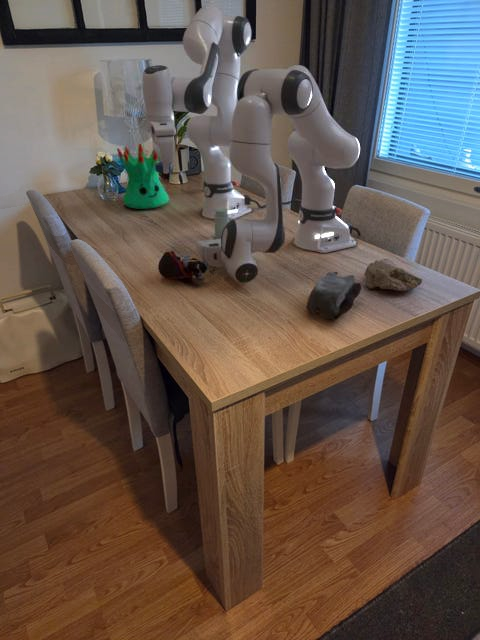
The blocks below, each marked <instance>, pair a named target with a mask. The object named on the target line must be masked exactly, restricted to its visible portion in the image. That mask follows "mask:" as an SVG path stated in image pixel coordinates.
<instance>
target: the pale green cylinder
mask: <svg viewBox="0 0 480 640" xmlns="http://www.w3.org/2000/svg"><path fill="white" fill-rule="evenodd" d="M215 211H216V214H215V215H214V219H213V221H214V237H216V239H221V236H222V231H223V229H224V227H225V226H226V225H227V223H228V222H229V221H230V220H229V214H228V209H226V208H217V209H216V210H215Z"/></svg>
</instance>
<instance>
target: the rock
mask: <svg viewBox="0 0 480 640" xmlns="http://www.w3.org/2000/svg"><path fill="white" fill-rule="evenodd" d="M361 290H362V284H361V283H360V282H356V278H355V276H354V275H353V274H349V275H345V276H339V272H338V271H327V272H326V274H324V275H323V276H322V277H321V278H320V279H319V280H318V281H317V283H315V285H314V287H313V288H312V289H311V291H310V294H309V296H308V299H307V302H306V305H305V306H306V307H305V308H306V310H307V311H308V312H309V313H312V314H315V313H317V312H318V313H319V315H320V316H322V317H323V318H325V319H327V320H329V319H332V320H334V321H336V320H338V319H339V318H340V317H341V316H343V315H345V314H346V313H348V311H350V310H351V309H352V308H353V305H354V303H355V299H356V298H358V296H359V295H360V293H361Z"/></svg>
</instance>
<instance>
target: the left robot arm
mask: <svg viewBox="0 0 480 640" xmlns="http://www.w3.org/2000/svg"><path fill="white" fill-rule="evenodd" d="M251 25H252V24H251V23H250V21H249V19H248V18H247V17H245V16H241V15H229V14H223V13H222V12H221V10H220V9H219V8H218V7H217V6H215V5H212V4H206V5H203V6H202V7H201V8H199V10H198V11H197V12H196V13H195V14H194V16H193V17H192V19H191V20H190V21H189V24H188V25H187V27H186V29H185V31H184V34H183V37H182V45H183V49H184V52H185V54H186V55H187V57H188V58H189V59H190V60H191V61H192V62H194V63H195V64H197V65H200V66H201V67H200V70H199V74H198V75H196V76H194V77H179V76H178V77H177V76H174V75H172V74H171V73H170V70H169V67H167V66H166V65H159V64H158V65H157V64H156V65H151V66H148V67H145V69H143V72H142V96H143V102H144V105H145V112H144V116H145V128H146V132H147V133H149V134H151V135H150V137H151V140H152V151H153V150H154V151H155V153H156V154H157V155H158V160H159V163H160V162H162V163H163V172H164V173H163V174H165V175H166V174H170V172H169V162H170V163H173V162H174V161H175V136H176V134H177V131H176V126H175V125H176V124H175V113H174V112H183V113H191V114H197V115H196V116H192V117H190V119H189V120H188V121H187V124H186V135H187V138H188V139H189V141H190V142H191V143H193V144H194V146H195V147H196V149H197V150H198V152H199V154H200V157H201V161H202V165H203V166H202V167H203V177H204V180H203V193H204V194H203V195H204V199H203V206H202V207H203V208H202V211H201V216H202V217H204V218H205V219H210V220H214V215H215V214H216V211H215V210H216V209H217V208H226V209H228V214H229V221H230V220H232V219H237V218H240V217H242V216H244V215H246V214H249V213H250V212H252V208H251V207H250V206H249V205H251V202H253V203H255V204H256V205H257V207H258V208H260V209H265V208H266V204H264V205H260V203H259V202H258V201H257V200H255V199H253V198H251V197H250V196H249V195H247V194H244V195H243V194H242V193H240V191H238V190H236V189H235V187H238V186H239V183H240V182H239V181H237V180H232V166H231V165H232V163H231V161H230V158H228V157H227V156H226V155H224V154H223V152H222V151H221V148H229V147H230V133H231V126H232V120H233V115H234V111H235V107H236V104H237V101H238V99H237V86H238V83H239V80H240V78H241V76H240V75H241V57H242V56H243V54H244V53H245V51H246V50H247V49H248V48H249V46H250V44H251V41H252V27H251ZM211 105H213V106H214V107H216V110H217V111H216V115H207V114H204V113H206V112H207V110H209V108H210V106H211ZM220 147H221V148H220ZM301 201H302V200H300V199H298V198H294V199H292V200H290V201H285V202H283V201H282V205H289V204H291V203H294V202H298V203H299V204H301Z"/></svg>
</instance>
